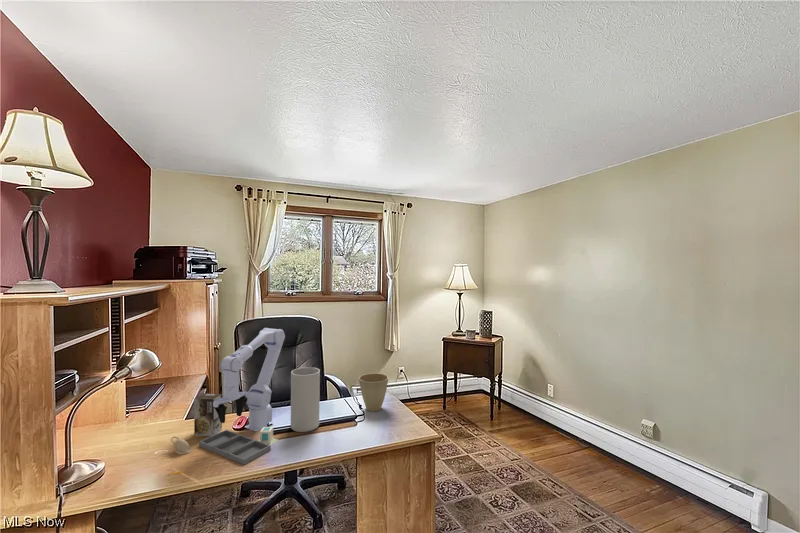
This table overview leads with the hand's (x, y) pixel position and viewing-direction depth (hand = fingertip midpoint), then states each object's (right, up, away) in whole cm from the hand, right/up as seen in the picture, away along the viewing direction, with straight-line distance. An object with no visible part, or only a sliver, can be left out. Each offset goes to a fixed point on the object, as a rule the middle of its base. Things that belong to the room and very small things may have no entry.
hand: (230, 418), depth 150 cm
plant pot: (+56, -10, +36) cm, 67 cm away
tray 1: (-4, -9, -1) cm, 10 cm away
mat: (+15, -10, 0) cm, 18 cm away
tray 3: (+12, -10, -10) cm, 18 cm away
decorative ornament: (-15, -10, -8) cm, 20 cm away
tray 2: (+4, -10, -6) cm, 12 cm away
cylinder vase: (+27, -10, +15) cm, 32 cm away
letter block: (+15, -9, 0) cm, 17 cm away
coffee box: (-13, -10, +7) cm, 18 cm away
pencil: (-2, -10, -20) cm, 23 cm away
